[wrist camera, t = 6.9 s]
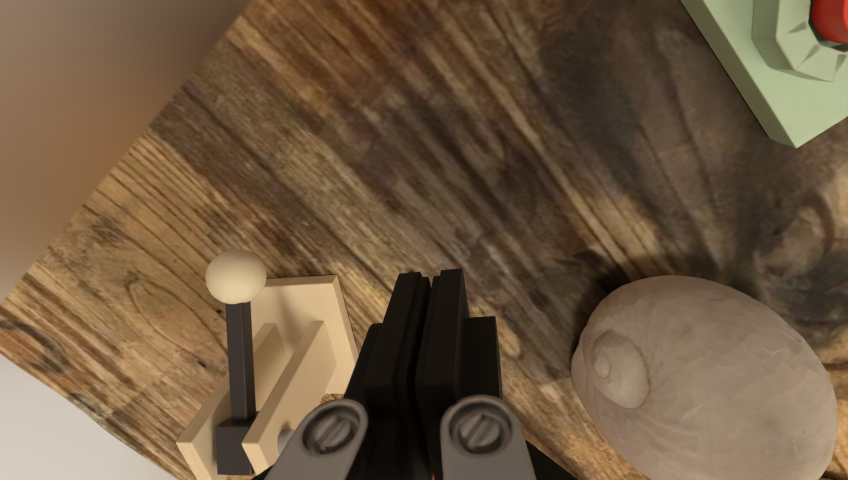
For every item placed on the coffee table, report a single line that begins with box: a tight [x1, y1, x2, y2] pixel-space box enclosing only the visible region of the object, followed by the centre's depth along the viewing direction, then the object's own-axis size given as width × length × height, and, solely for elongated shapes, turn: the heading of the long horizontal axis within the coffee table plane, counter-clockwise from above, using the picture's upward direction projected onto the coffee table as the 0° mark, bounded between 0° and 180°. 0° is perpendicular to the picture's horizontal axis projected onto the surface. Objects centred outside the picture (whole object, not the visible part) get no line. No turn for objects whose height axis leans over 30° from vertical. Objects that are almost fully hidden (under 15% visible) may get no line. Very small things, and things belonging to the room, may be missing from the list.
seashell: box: [571, 275, 838, 480], centre depth 27 cm, size 15×14×15 cm
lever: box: [206, 249, 266, 476], centre depth 25 cm, size 13×3×3 cm, turn 8°
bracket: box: [176, 275, 359, 480], centre depth 28 cm, size 11×8×12 cm
